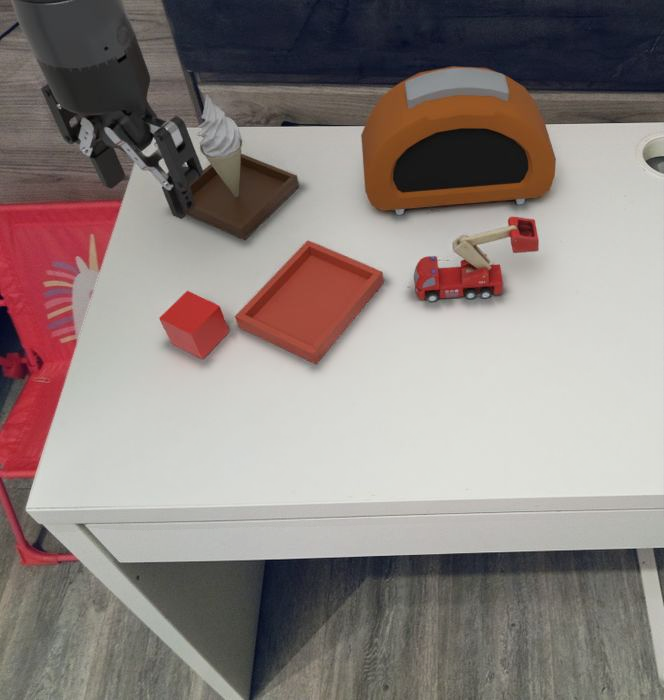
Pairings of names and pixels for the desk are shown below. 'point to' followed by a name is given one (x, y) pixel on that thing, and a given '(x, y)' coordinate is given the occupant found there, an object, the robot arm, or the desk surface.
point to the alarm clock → (455, 142)
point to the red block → (194, 324)
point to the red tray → (310, 301)
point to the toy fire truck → (473, 264)
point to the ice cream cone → (221, 144)
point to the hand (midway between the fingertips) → (149, 197)
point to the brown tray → (241, 196)
